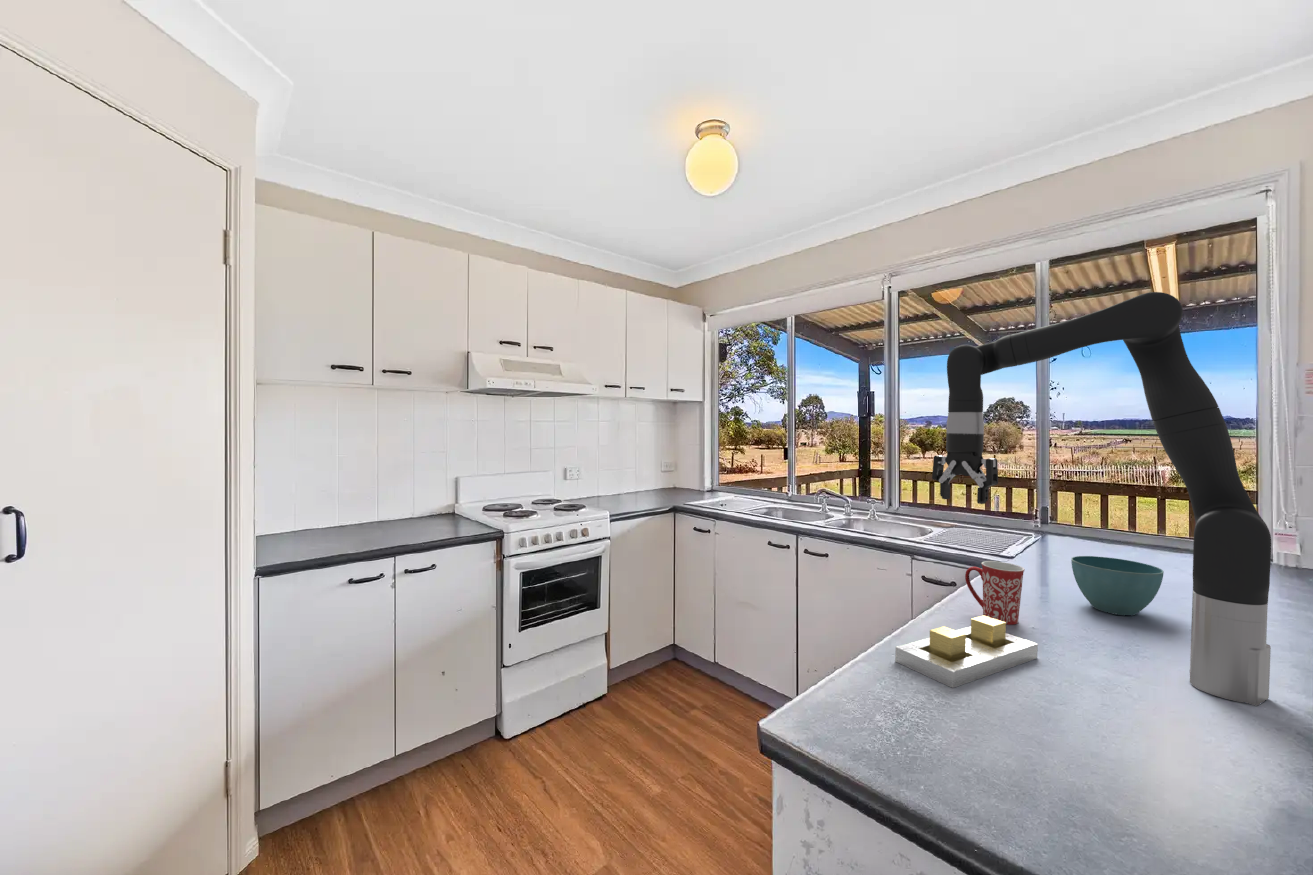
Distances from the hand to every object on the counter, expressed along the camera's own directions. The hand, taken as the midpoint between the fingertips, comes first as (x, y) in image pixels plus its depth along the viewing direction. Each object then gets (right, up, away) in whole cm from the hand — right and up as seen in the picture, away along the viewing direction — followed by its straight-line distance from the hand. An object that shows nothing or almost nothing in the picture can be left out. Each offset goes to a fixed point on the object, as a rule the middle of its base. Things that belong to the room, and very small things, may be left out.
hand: (963, 501), depth 123 cm
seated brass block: (-2, -30, -13) cm, 33 cm away
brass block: (-14, -30, -19) cm, 39 cm away
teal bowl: (+49, -31, +15) cm, 59 cm away
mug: (+12, -30, +9) cm, 34 cm away
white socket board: (-9, -30, -16) cm, 35 cm away
